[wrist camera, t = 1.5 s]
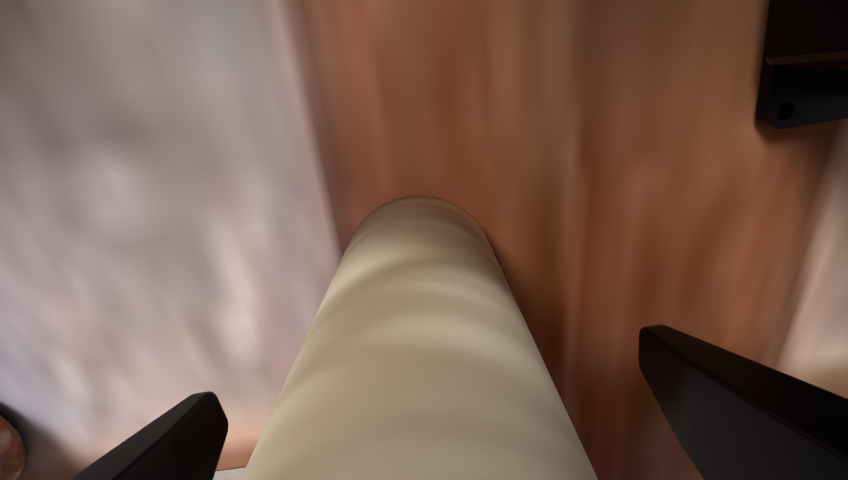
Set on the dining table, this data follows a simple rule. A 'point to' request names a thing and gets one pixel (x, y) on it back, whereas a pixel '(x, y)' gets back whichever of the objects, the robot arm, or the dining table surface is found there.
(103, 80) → the dining table surface
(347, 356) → the wooden peg
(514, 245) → the dining table surface
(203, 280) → the dining table surface
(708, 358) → the robot arm
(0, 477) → the sauce bottle
